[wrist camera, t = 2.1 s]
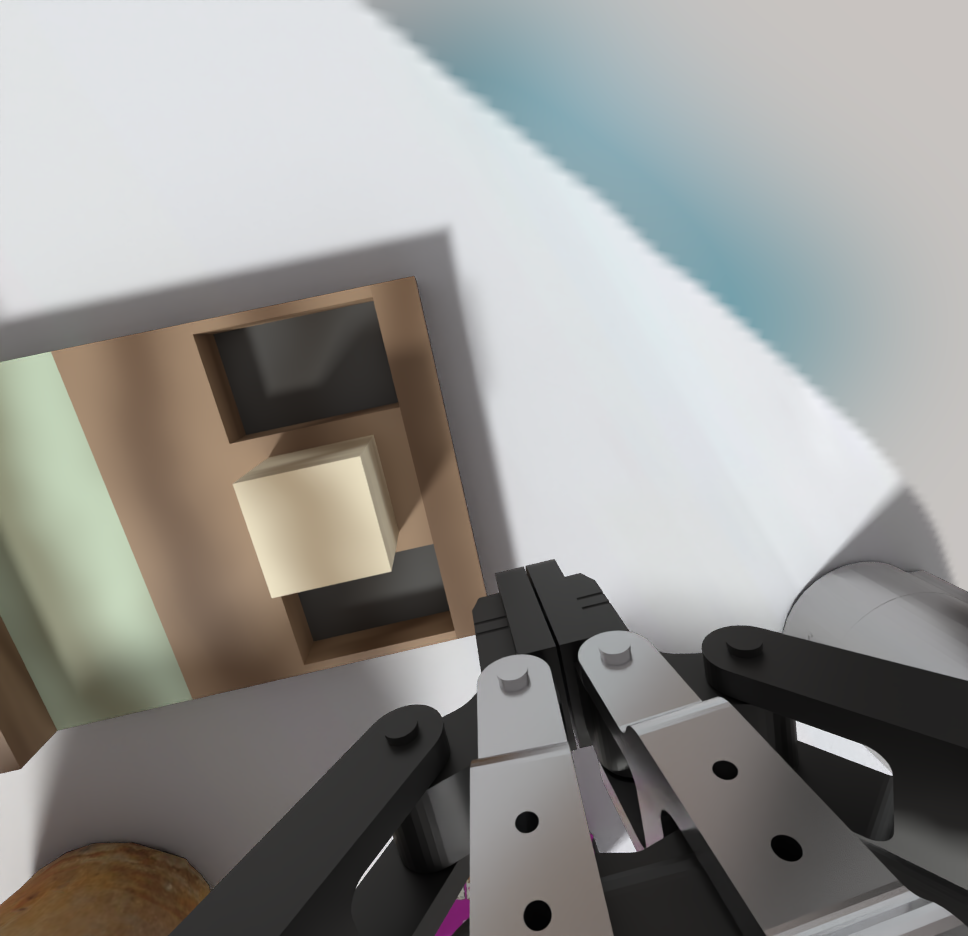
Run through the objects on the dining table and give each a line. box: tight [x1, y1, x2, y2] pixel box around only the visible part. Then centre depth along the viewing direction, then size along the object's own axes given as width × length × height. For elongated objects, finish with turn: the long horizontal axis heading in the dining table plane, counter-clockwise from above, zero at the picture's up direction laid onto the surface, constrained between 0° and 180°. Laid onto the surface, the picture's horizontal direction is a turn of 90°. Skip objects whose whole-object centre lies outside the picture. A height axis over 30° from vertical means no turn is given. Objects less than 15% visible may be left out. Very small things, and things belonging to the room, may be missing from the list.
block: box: [233, 435, 399, 598], centre depth 24 cm, size 5×5×4 cm
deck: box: [0, 276, 487, 774], centre depth 25 cm, size 24×18×5 cm
